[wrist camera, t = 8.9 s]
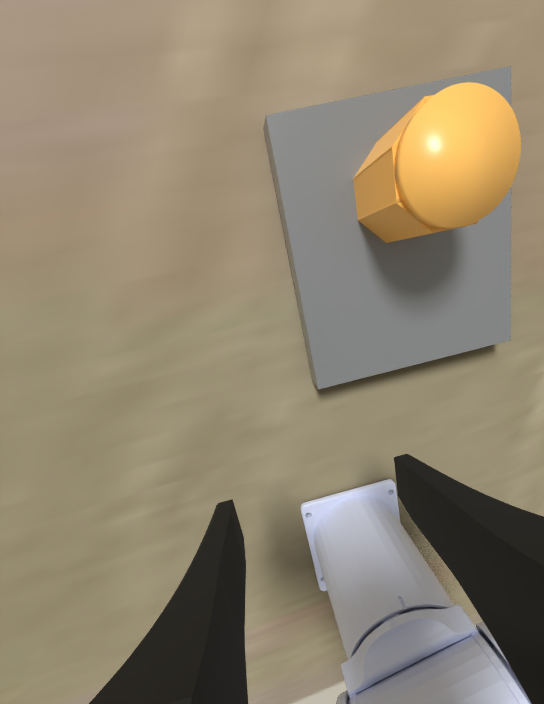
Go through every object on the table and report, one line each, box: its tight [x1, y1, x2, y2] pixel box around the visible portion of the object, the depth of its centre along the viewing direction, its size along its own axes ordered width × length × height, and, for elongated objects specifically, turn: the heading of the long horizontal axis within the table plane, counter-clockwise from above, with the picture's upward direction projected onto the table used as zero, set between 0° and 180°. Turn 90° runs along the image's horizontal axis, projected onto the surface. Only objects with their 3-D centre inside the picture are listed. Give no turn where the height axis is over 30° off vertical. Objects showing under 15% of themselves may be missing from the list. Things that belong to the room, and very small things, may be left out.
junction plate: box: [264, 66, 511, 389], centre depth 18 cm, size 16×14×4 cm
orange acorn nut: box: [353, 82, 521, 243], centre depth 15 cm, size 5×5×5 cm
